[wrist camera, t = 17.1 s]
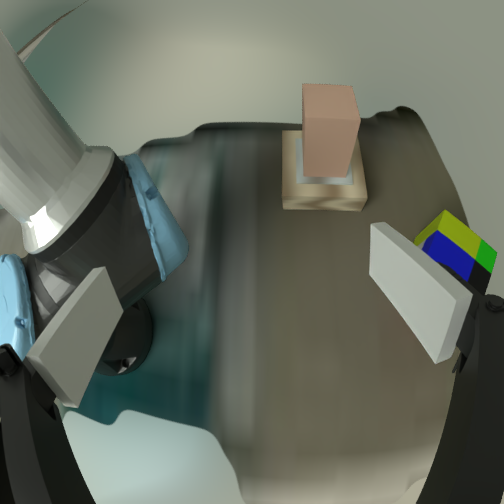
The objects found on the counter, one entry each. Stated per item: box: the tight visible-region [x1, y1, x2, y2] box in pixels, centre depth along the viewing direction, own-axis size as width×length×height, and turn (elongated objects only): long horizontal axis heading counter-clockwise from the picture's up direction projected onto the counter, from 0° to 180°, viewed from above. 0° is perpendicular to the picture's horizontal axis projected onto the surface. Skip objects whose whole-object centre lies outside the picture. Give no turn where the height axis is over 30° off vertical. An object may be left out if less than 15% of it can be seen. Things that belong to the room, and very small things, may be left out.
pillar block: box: [302, 84, 361, 178], centre depth 33 cm, size 6×6×12 cm
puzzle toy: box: [413, 210, 497, 296], centre depth 31 cm, size 10×10×10 cm
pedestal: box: [282, 131, 367, 211], centre depth 41 cm, size 12×12×5 cm
